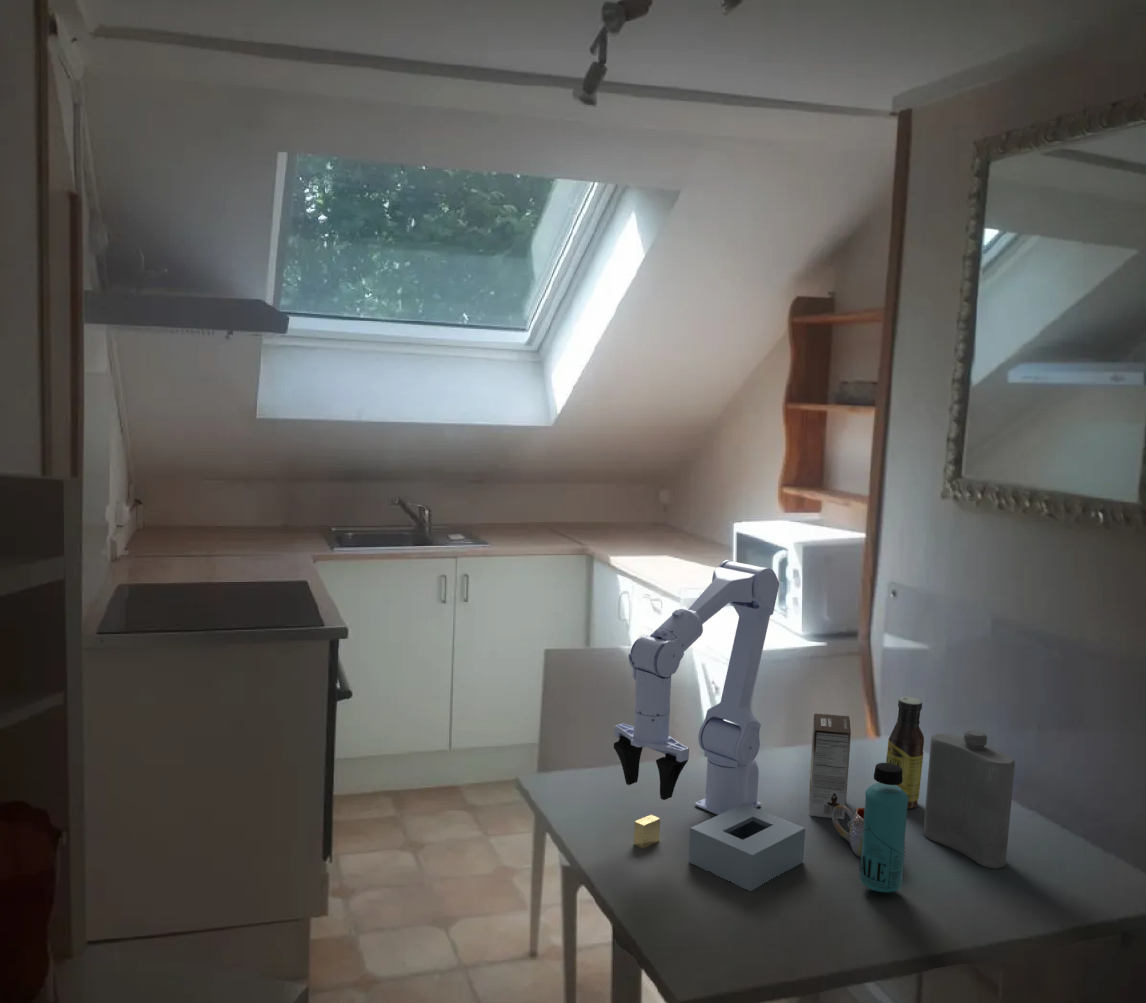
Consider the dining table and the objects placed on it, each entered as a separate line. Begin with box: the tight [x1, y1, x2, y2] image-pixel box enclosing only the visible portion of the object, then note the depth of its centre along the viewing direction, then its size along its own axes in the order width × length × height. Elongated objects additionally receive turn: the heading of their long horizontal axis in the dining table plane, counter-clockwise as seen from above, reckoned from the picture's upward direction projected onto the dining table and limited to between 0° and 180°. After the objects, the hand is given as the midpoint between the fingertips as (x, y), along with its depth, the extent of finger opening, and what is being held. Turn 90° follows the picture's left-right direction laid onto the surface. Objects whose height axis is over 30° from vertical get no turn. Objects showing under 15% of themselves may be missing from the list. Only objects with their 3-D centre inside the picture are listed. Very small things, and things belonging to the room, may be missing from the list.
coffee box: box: [808, 713, 852, 820], centre depth 186 cm, size 9×6×16 cm
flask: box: [923, 729, 1016, 870], centre depth 171 cm, size 15×6×20 cm, turn 31°
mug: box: [831, 805, 865, 858], centre depth 172 cm, size 12×7×7 cm, turn 31°
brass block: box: [633, 814, 661, 849], centre depth 171 cm, size 4×2×4 cm, turn 134°
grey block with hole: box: [688, 804, 806, 892], centre depth 165 cm, size 14×12×6 cm
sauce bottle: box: [885, 696, 925, 810], centre depth 188 cm, size 7×6×20 cm
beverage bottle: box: [858, 762, 909, 893], centre depth 156 cm, size 6×7×20 cm
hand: (648, 790), depth 170 cm, fingers open, 7 cm apart
